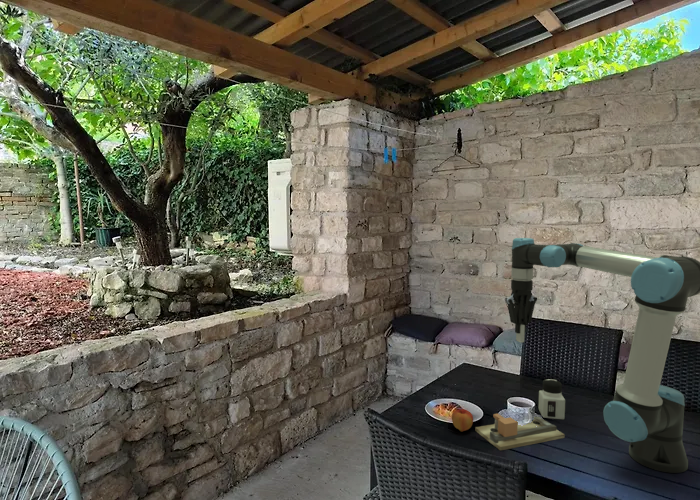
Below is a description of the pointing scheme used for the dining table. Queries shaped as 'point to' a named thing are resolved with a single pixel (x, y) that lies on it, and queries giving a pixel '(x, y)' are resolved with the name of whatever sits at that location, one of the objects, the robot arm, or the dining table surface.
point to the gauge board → (521, 434)
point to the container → (552, 400)
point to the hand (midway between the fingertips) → (520, 341)
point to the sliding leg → (505, 425)
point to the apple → (462, 419)
